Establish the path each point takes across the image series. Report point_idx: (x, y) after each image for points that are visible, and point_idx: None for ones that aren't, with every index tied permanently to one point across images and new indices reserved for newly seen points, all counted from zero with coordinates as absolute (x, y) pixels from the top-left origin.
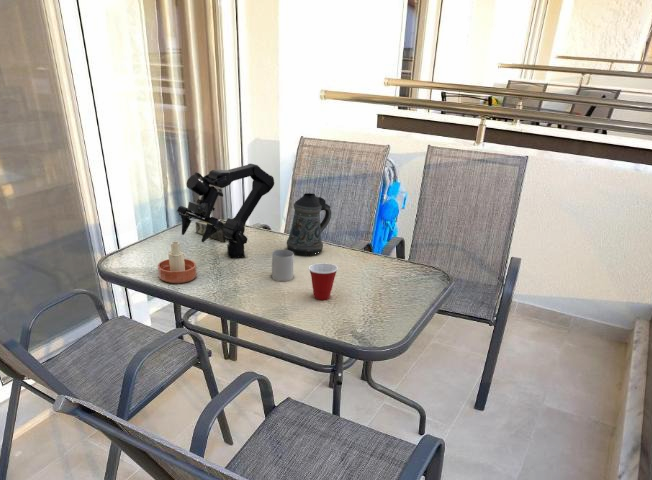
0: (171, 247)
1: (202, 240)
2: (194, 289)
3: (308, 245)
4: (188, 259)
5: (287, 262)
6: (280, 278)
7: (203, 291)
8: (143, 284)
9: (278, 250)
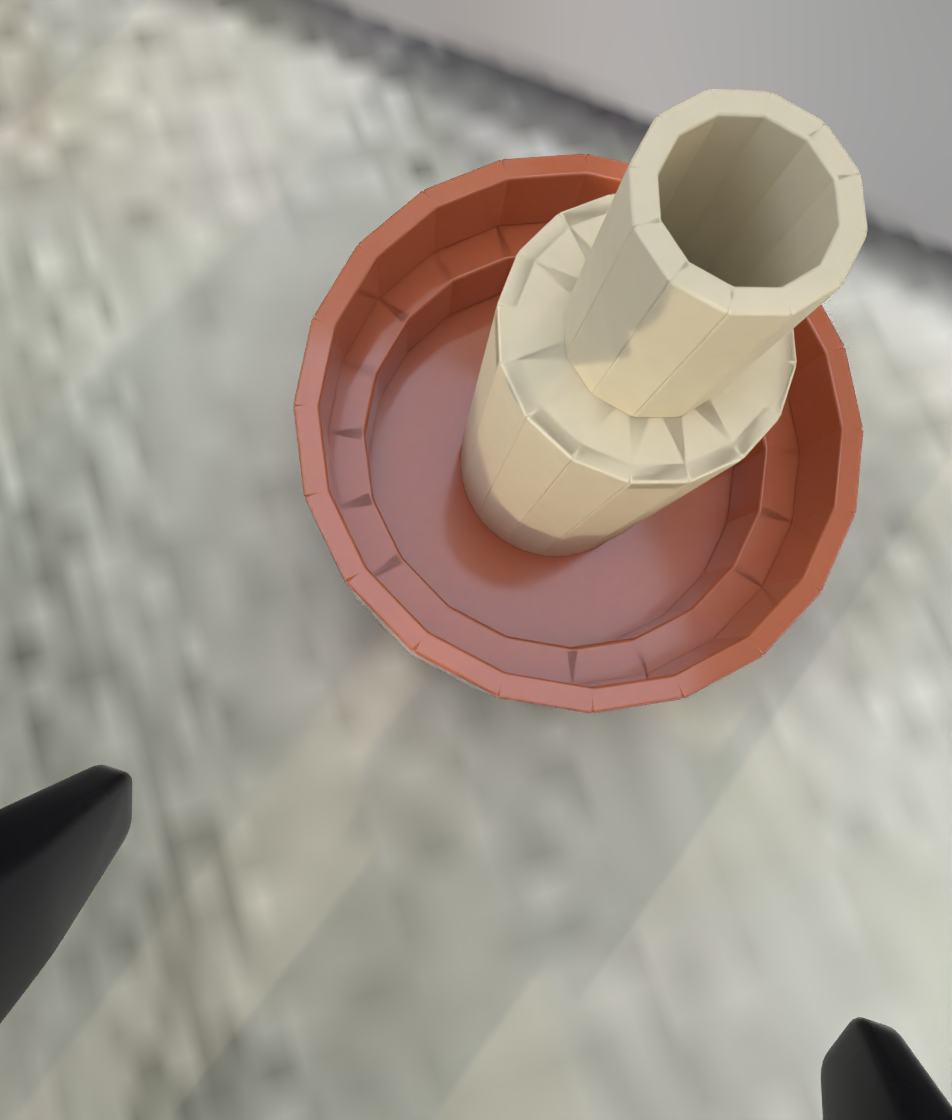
0: (768, 194)
1: (75, 780)
2: (244, 176)
3: None
4: (498, 692)
5: None
6: None
7: (125, 143)
8: None
9: None
